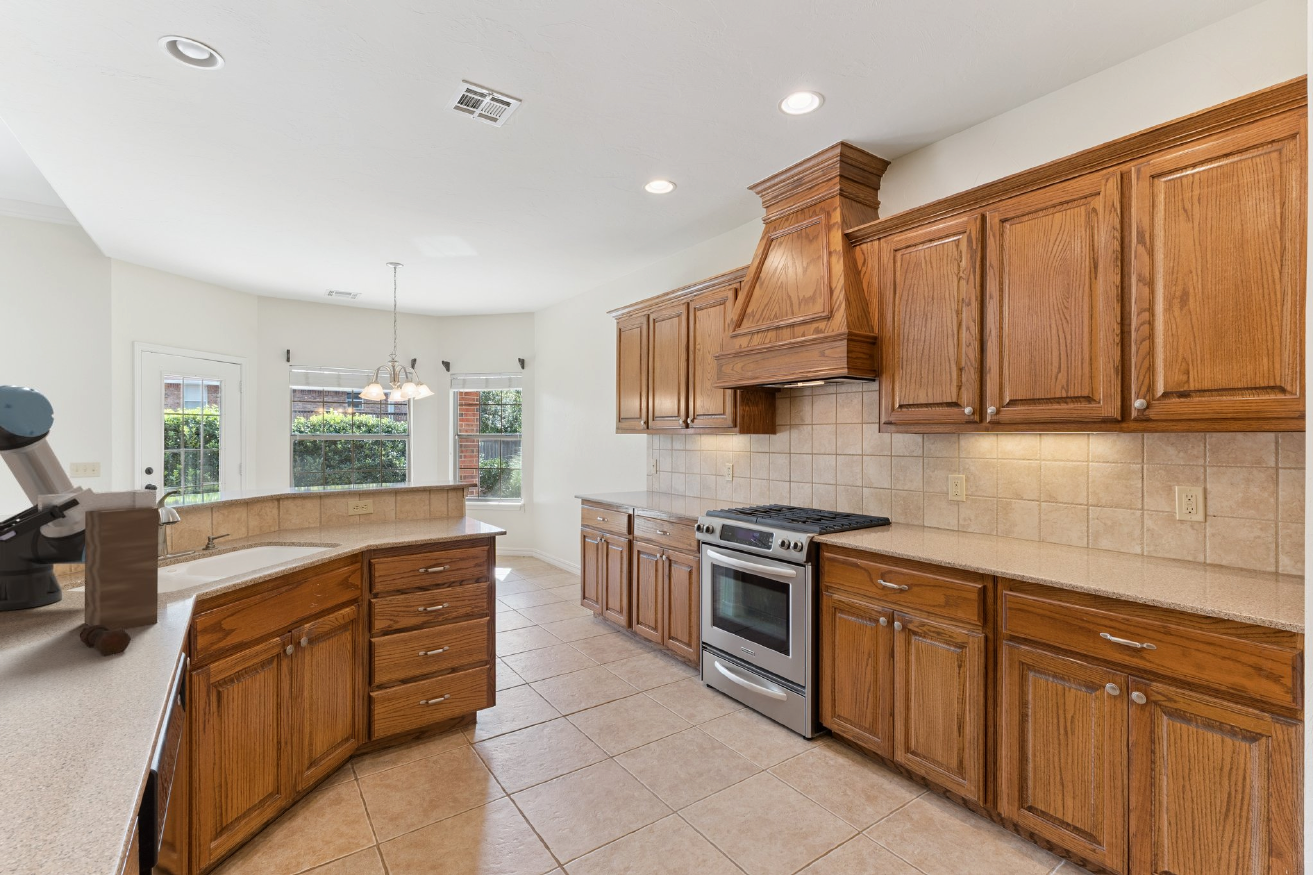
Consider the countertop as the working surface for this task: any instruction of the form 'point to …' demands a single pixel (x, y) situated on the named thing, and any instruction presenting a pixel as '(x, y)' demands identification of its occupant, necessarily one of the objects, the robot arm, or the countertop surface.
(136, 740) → the countertop surface
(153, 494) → the steel block
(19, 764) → the countertop surface
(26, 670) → the countertop surface
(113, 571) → the wooden block
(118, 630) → the bolt
